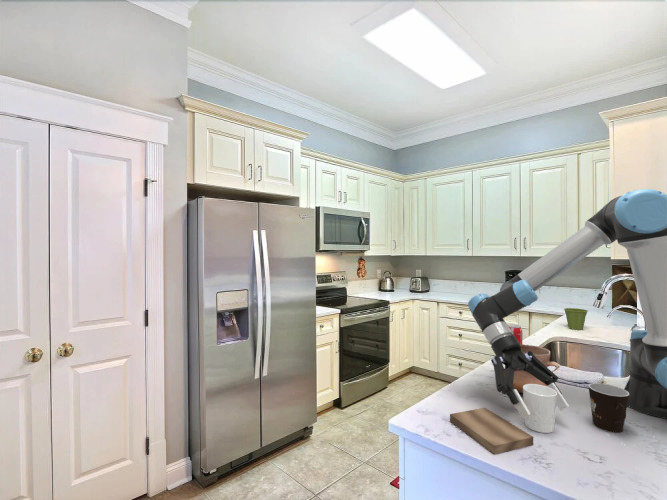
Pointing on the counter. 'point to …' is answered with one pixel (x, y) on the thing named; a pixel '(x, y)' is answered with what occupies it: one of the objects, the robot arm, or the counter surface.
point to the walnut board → (491, 430)
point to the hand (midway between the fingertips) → (546, 412)
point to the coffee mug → (608, 406)
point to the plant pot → (575, 318)
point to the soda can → (516, 332)
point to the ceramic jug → (522, 376)
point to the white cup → (540, 407)
